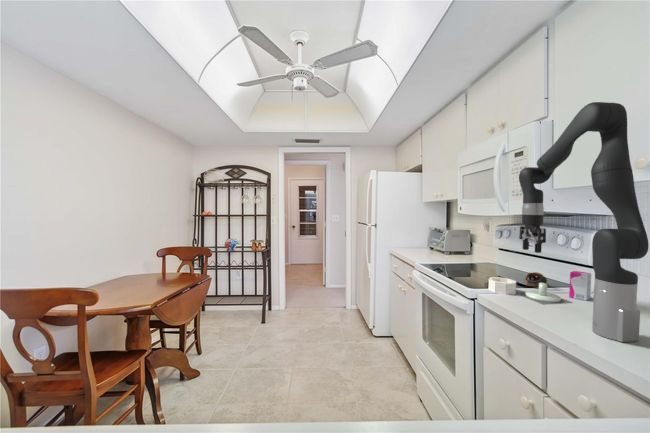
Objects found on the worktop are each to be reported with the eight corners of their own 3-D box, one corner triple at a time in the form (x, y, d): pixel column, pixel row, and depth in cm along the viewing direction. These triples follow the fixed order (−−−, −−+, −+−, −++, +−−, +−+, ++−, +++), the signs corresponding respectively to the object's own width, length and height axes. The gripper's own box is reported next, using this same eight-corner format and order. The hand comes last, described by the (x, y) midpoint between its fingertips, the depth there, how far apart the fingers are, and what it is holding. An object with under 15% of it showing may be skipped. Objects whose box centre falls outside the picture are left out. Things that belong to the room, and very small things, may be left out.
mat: (573, 303, 114) (573, 302, 114) (542, 305, 112) (542, 304, 112) (542, 292, 128) (542, 291, 128) (514, 294, 126) (514, 293, 126)
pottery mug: (555, 291, 132) (550, 277, 130) (534, 299, 134) (529, 285, 132) (538, 278, 143) (534, 265, 141) (519, 285, 145) (515, 272, 143)
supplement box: (590, 299, 120) (591, 272, 119) (586, 302, 116) (587, 274, 116) (573, 295, 124) (574, 270, 124) (568, 298, 121) (569, 272, 120)
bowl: (521, 295, 125) (522, 283, 125) (500, 296, 124) (500, 284, 123) (503, 287, 136) (503, 276, 135) (483, 288, 134) (483, 277, 134)
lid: (568, 302, 115) (569, 287, 115) (542, 303, 113) (543, 288, 113) (542, 292, 127) (542, 279, 127) (518, 293, 125) (518, 280, 125)
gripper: (553, 214, 114) (552, 254, 114) (531, 213, 128) (530, 248, 128) (533, 214, 114) (532, 253, 115) (514, 213, 128) (513, 248, 129)
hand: (531, 251), depth 122 cm, fingers open, 8 cm apart
